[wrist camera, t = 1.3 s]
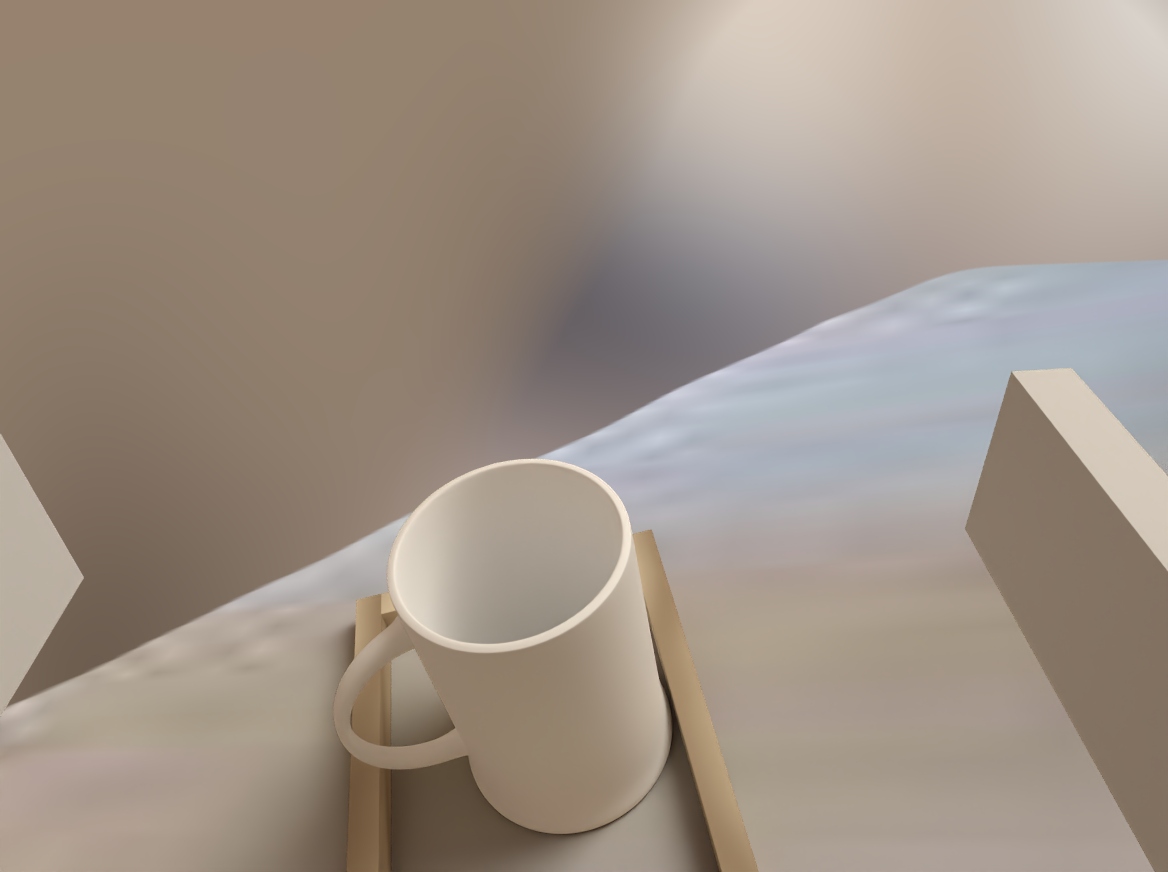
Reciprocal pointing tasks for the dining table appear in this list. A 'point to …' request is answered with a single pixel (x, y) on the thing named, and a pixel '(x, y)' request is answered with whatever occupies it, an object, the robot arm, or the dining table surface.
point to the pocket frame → (707, 765)
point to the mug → (526, 645)
